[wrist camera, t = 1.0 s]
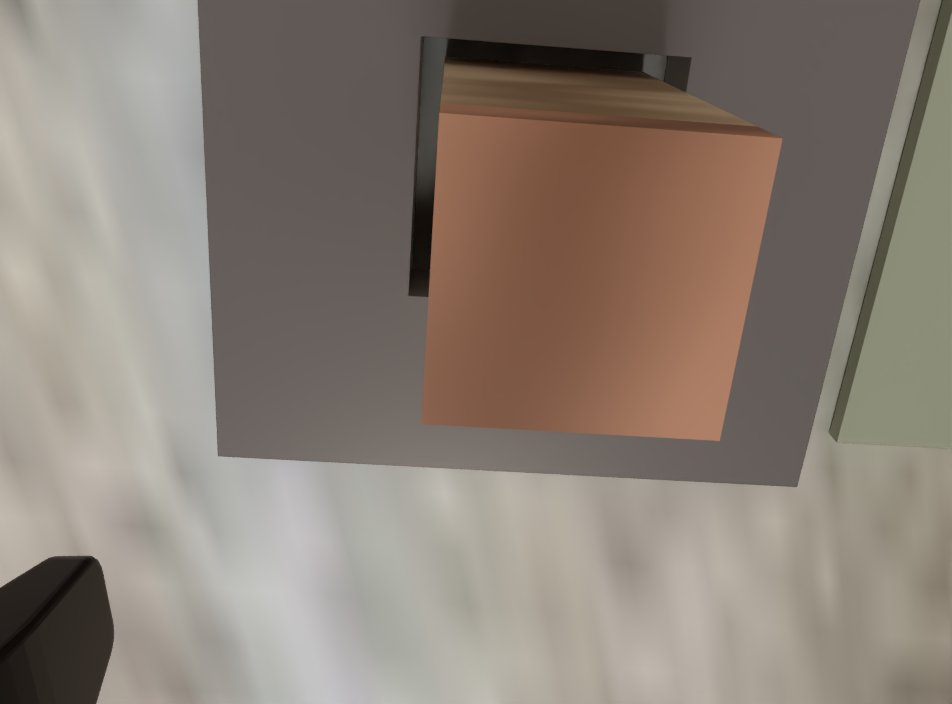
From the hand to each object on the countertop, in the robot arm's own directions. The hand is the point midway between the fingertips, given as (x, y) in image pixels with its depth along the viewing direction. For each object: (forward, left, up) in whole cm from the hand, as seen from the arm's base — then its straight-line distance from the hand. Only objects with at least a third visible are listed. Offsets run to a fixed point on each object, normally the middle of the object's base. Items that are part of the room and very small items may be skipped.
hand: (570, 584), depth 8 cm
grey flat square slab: (-1, -2, -13) cm, 13 cm away
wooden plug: (-1, -2, -13) cm, 14 cm away
